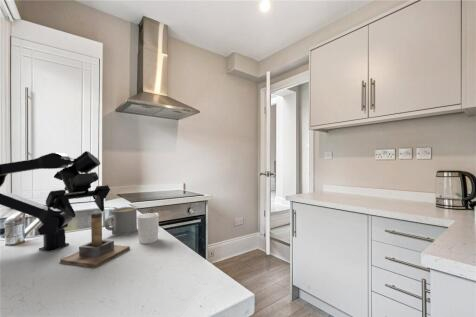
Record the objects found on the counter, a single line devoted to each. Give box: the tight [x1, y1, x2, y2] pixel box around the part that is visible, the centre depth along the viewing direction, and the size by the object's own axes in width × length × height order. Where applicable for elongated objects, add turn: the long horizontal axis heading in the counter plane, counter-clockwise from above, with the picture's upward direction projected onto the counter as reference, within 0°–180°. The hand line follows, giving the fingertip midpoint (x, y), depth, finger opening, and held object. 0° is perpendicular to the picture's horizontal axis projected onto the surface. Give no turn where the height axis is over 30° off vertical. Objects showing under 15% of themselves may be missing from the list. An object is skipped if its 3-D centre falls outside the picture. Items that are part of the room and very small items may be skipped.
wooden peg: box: [90, 212, 103, 247], centre depth 75 cm, size 3×3×13 cm
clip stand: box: [59, 239, 131, 269], centre depth 75 cm, size 14×14×4 cm
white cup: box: [137, 212, 160, 245], centre depth 88 cm, size 8×8×10 cm
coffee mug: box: [103, 206, 138, 236], centre depth 99 cm, size 13×10×10 cm
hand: (89, 213), depth 78 cm, fingers open, 9 cm apart
